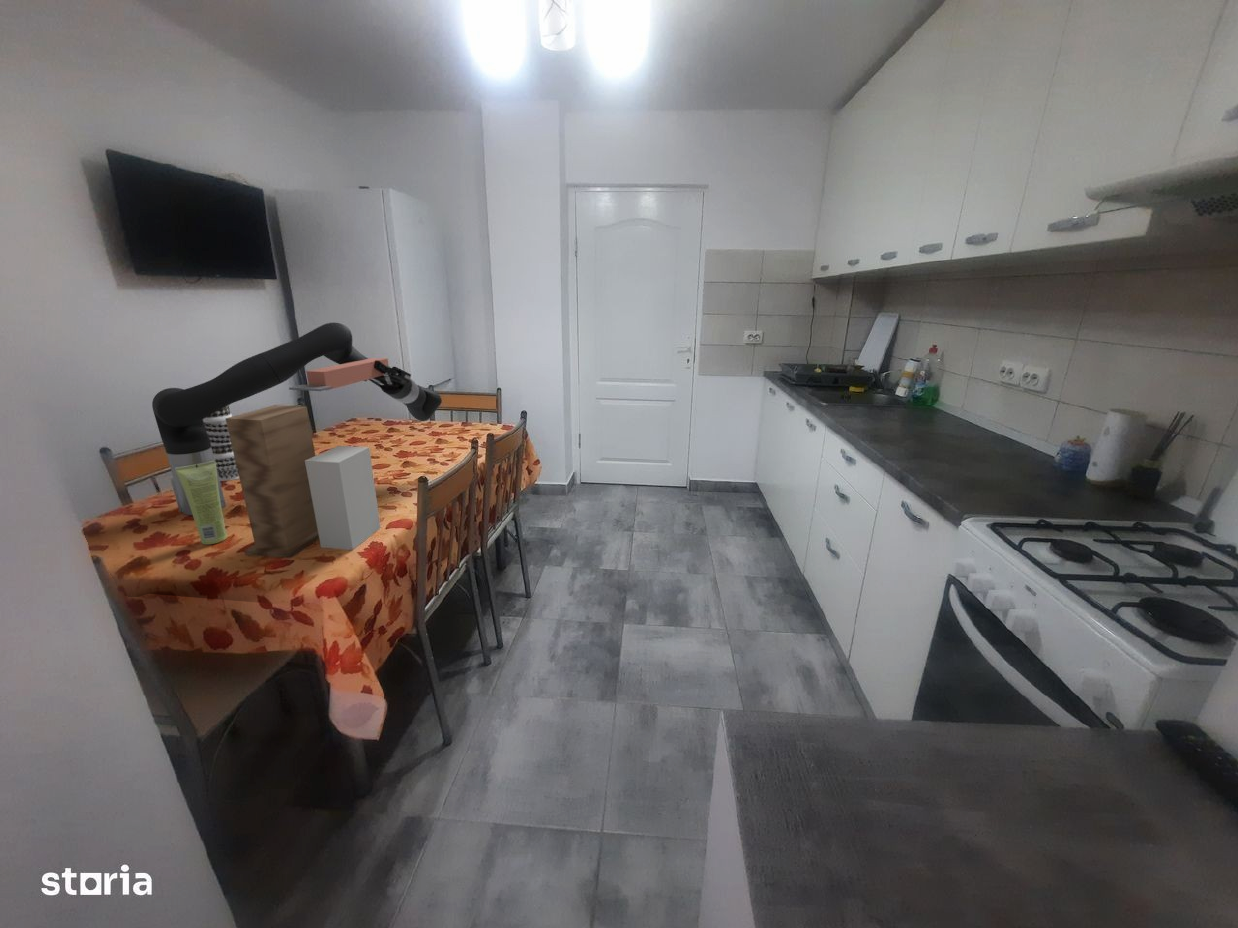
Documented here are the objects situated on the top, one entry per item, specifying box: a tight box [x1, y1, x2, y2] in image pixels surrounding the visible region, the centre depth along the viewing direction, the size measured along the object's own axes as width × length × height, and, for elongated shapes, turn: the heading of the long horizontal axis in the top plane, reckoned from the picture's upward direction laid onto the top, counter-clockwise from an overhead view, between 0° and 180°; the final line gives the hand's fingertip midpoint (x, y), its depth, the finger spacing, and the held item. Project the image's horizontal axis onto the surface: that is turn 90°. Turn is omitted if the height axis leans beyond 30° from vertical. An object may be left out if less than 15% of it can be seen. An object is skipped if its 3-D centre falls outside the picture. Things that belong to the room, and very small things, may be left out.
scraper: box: [288, 357, 390, 392], centre depth 117 cm, size 7×30×4 cm, turn 175°
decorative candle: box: [203, 405, 240, 482], centre depth 155 cm, size 9×9×25 cm
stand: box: [225, 404, 320, 559], centre depth 115 cm, size 11×17×32 cm, turn 175°
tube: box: [175, 461, 228, 545], centre depth 116 cm, size 6×5×20 cm
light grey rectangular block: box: [305, 445, 381, 551], centre depth 118 cm, size 8×12×22 cm, turn 175°
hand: (367, 363), depth 124 cm, fingers closed on scraper, 4 cm apart
